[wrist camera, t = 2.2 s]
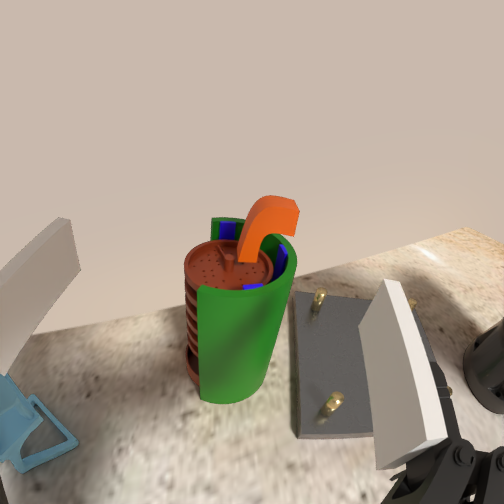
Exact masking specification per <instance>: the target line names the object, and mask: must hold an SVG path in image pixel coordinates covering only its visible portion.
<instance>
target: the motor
mask: <svg viewBox="0 0 504 504" xmlns="http://www.w3.org/2000/svg"><path fill="white" fill-rule="evenodd" d="M299 212H300V211H299V209H298V207H297V205H296V203H295V201H294V200H291V199H287V198H284V197H279V196H271V195H270V196H264V197H262V198H260V199H259V200H257V201H256V202H255V204H254V205H253V206H252V208H251V210H250V212H249V214H248V216H247V218H246V220H244V219H237V218H226V217H224V218H223V217H219V218H212V221H211V240H210V241H208V242H205V243H202V244H200V245H198V246H196V247H194V248H193V249H192V250H191V251H190V252H189V253H188V254H187V256H186V258H185V262H184V273H185V292H186V294H185V301H186V318H187V336H188V345H187V348H186V363H187V370H188V373H189V375H190V377H191V379H192V380H193V381H194V382H195V383H196V384H197V385H198V386H199V387H200V399H201V400H204V401H206V402H210V403H215V404H230V403H236V402H239V401H242V400H244V399H246V398H248V397H250V396H251V395H252V394H254V393H255V392H256V391H257V390H258V389H259V387H260V386H261V385H262V383H263V381H264V378H265V375H266V372H267V368H268V365H269V362H270V359H271V355H272V352H273V349H274V345H275V342H276V339H277V335H278V332H279V328H280V325H281V321H282V318H283V314H284V311H285V307H286V304H287V300H288V297H289V293H290V289H291V286H292V282H293V278H294V274H295V271H296V267H297V256H296V253H295V251H294V249H293V247H292V246H291V244H290V243H289V242H288V241H287V240H286V239H285V238H284V237H283V236H282V235H281V234H283V235H288V236H293V237H294V234H295V230H296V225H297V221H298V217H299Z"/></svg>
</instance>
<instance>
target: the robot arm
mask: <svg viewBox="0 0 504 504" xmlns="http://www.w3.org/2000/svg"><path fill="white" fill-rule="evenodd" d="M80 271H81V269H80V264H79V260H78V256H77V251H76V247H75V241H74V236H73V231H72V226H71V221H70V220H69V219H64V218H59V217H58V218H57V219H56V220H54V221H53V222H52V223H51V224H50V225H49V226H47V227H46V228H45V229H44V230H43V231H42V232H41V233H39V234H38V235H37V236H36V237H35V238H34V239H33V240H32V241H31V242H29V243H28V244H27V245H26V246H25V247H24V248H23V249H22V250H21V251H20V252H19V253H18V254H17V255H16V256H15V257H14V258H13V259H12V260H10V261H9V262H8V264H7V265H5V267H4V268H3V269H2V270H1V271H0V374H2V375H3V376H5V375H6V373H7V371H8V370H9V368H10V367H11V365H12V363H13V362H14V360H15V359H16V357H17V355H18V354H19V352H20V351H21V349H22V348H23V346H24V345H25V343H26V342H27V340H28V339H29V337H30V336H31V335H32V333H33V332H34V330H35V329H36V327H37V326H38V325H39V323H40V322H41V320H42V319H43V318H44V316H45V315H46V314H47V312H48V311H49V309H50V308H51V307H52V306H53V304H54V303H55V302H56V300H57V299H58V298H59V297H60V295H61V294H62V293H63V291H64V290H65V289H66V288H67V286H68V285H69V284H70V283H71V281H72V280H73V279H74V277H76V275H77V274H78V273H79V272H80ZM358 327H359V333H360V338H361V344H362V349H363V355H364V362H365V368H366V375H367V382H368V389H369V396H370V404H371V413H372V422H373V432H374V443H375V457H376V470H386V469H394V468H397V467H399V466H401V465H403V464H405V463H406V470H404V471H402V472H400V473H398V474H396V475H394V476H393V477H392V478H391V479H390V480H391V481H393V480H395V479H397V478H398V480H397V481H396V482H395V484H394V486H393V487H392V489H391V490H390V492H389V493H388V494H387V496H386V497H385V498H384V500H383V501H382V502H381V504H504V446H500V447H498V448H497V449H495V450H493V451H492V452H490V453H488V452H482V451H477V450H475V449H474V447H473V445H472V444H471V443H470V442H469V441H467V440H465V439H462V438H461V435H460V432H459V428H458V423H457V419H456V415H455V411H454V407H453V403H452V400H451V399H450V393H449V389H448V388H447V382H446V379H445V376H444V373H443V371H442V370H441V368H440V367H439V365H438V364H437V362H430V361H428V358H427V355H426V352H425V349H424V346H423V343H422V340H421V337H420V334H419V331H418V328H417V325H416V322H415V320H414V317H413V314H412V312H411V309H410V306H409V304H408V301H407V299H406V296H405V294H404V291H403V289H402V286H401V284H400V282H398V281H393V280H388V279H383V281H382V283H381V285H380V287H379V289H378V291H377V293H376V295H375V297H374V298H373V300H372V302H371V304H370V306H369V308H368V310H367V312H366V313H365V315H364V317H363V319H362V321H361V322H360V324H359V326H358ZM463 366H464V373H465V376H466V379H467V382H468V384H469V387H470V388H471V390H472V392H473V394H474V395H475V397H476V398H477V399H478V400H479V401H480V403H481V404H482V405H484V406H485V407H486V408H487V409H489V410H490V411H492V412H494V413H497V414H504V317H503V319H502V320H501V321H499V322H498V323H497V324H495V325H494V326H492V327H491V328H489V329H488V330H486V331H485V332H484V333H482V334H480V335H479V336H478V337H476V338H475V339H474V340H473V342H472V343H471V344H470V345H469V347H468V348H467V349H466V351H465V354H464V359H463ZM475 493H476V494H475ZM473 494H475V498H474V501H472V502H470V496H471V495H473ZM0 504H8V500H7V497H6V494H5V491H4V487H3V484H2V480H1V477H0Z"/></svg>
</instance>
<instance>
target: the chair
mask: <svg viewBox="0 0 504 504" xmlns="http://www.w3.org/2000/svg"><path fill="white" fill-rule="evenodd" d="M35 404H37V405H38V406H39V407H40V408H41V410H42V411H43V412H44V413H45V414H46V415H47V417H48V418H49V419H50V420H51V421H52V422H53V423H54V424H55V425H56V427H57V428H58V429H59V430H60V431H61V432H62V433H63V434H64V435H65V436H66V437H67V439H68V440H67V441H65V442H63V443H61V444H58V445H56V446H54V447H51V448H48V449H46V450H43V451H41V452H38V453H36V454H33V455H31V456H28V457H26V458H23V459H22V458H21V454H20V450H21V447H22V445H23V443H24V442H25V440H26V439H27V437H28V436H29V435H30V433H31V432H32V431H33V430H35V429H36V428H37V427H38V426H39V425H40V424H41V423H42V422H43V421H44V419H43V418H42V417H41V416H40V415H39V413H38V412H37V411H36V410H35V409H34V405H35ZM78 444H79V442H78V440H77V439H76V438H75V437H74V436H73V435H72V434H71V433H70V432H69V431H68V430H67V429H66V428H65V427H64V426H63V425H62V424H61V423H60V422H59V421H58V420H57V419H56V418H55V417H54V415H53V414H52V413H51V412H50V411H49V410H48V409H47V408H46V407H45V406H44V405H43V403H42V402H41V401H40V400H39V399H38V398H37V396H36V395H34V394H31V395H30V396H29V397H28V399H26V398H25V396H24V395H23V394H22V393H21V391H20V390H19V389H18V387H17V386H16V384H15V383H14V382H13V380H12V379H11V377H10V376H9V375H8V373H6V375H5V376H3V375H2V374H0V462H2V463H3V462H4V461H5V460H10V461H11V462H12V464H13V465H14V467H15V469H16V470H17V471H18V472H20V473H22V474H23V473H25V472H27V471H28V470H30V469H32V468H34V467H36V466H38V465H40V464H42V463H45V462H47V461H49V460H51V459H53V458H56V457H58V456H60V455H62V454H64V453H66V452H68V451H70V450H72V449H73V448H75V447H76V446H77V445H78Z"/></svg>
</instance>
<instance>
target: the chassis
mask: <svg viewBox="0 0 504 504" xmlns="http://www.w3.org/2000/svg"><path fill="white" fill-rule="evenodd" d="M371 302H372V300H364V299H355V298H347V297H338V296H330V295H327V290H326V289H324V288H321V287H320V288H318V289H317V291H316V294H314V293H306V292H298V291H295V292H294V296H293V316H294V337H295V361H296V393H297V439H343V438H361V437H373V436H374V432H373V422H372V413H371V404H370V396H369V389H368V382H367V375H366V368H365V362H364V355H363V349H362V344H361V338H360V333H359V327H358V326H359V324H360V322H361V321H362V319H363V317H364V315H365V313H366V312H367V310H368V308H369V306H370V304H371ZM408 304H409V306H410V309H411V312H412V314H413V317H414V320H415V322H416V325H417V328H418V331H419V334H420V337H421V340H422V343H423V346H424V349H425V352H426V355H427V358H428V361H430V362H436V360H435V357H434V354H433V352H432V349H431V347H430V344H429V341H428V339H427V336H426V334H425V332H424V329H423V327H422V324H421V322H420V320H419V317H418V315H417V313H416V310H415V306H416V304H417V301H416V300H415V299H413V298H410V299H409V300H408ZM447 388H448V389H449V393H450V396H451V395H452V389H451V388H450V387H448V386H447Z"/></svg>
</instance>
